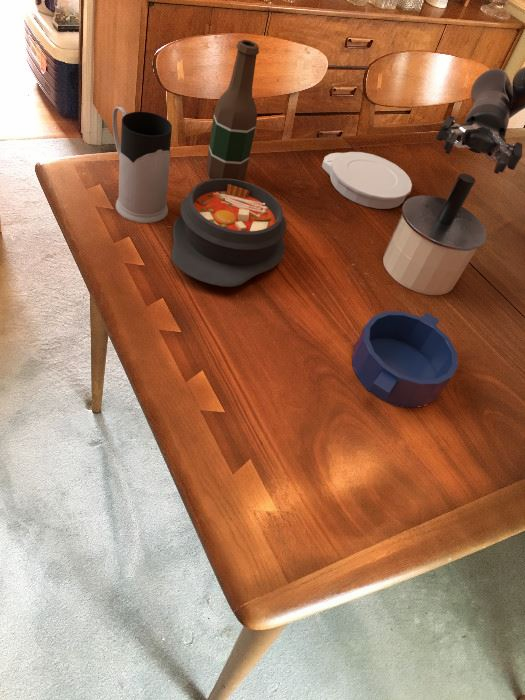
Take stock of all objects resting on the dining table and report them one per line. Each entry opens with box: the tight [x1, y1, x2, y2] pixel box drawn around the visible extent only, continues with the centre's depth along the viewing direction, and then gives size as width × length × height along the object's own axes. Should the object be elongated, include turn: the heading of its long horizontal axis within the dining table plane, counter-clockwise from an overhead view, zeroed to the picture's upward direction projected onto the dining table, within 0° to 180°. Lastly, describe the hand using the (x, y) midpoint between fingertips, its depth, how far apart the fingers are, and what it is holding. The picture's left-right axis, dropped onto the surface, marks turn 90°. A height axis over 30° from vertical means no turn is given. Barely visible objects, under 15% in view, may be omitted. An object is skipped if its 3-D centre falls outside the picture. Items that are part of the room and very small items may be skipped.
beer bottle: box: [206, 39, 260, 181], centre depth 99 cm, size 8×8×24 cm
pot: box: [382, 214, 479, 296], centre depth 96 cm, size 14×14×10 cm
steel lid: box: [401, 173, 488, 251], centre depth 90 cm, size 15×15×9 cm
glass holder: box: [112, 106, 173, 224], centre depth 91 cm, size 9×14×15 cm, turn 39°
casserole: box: [170, 178, 287, 288], centre depth 89 cm, size 25×19×8 cm
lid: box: [321, 151, 413, 210], centre depth 116 cm, size 17×20×3 cm
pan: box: [351, 310, 459, 408], centre depth 79 cm, size 14×19×5 cm
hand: (474, 158), depth 91 cm, fingers open, 8 cm apart
